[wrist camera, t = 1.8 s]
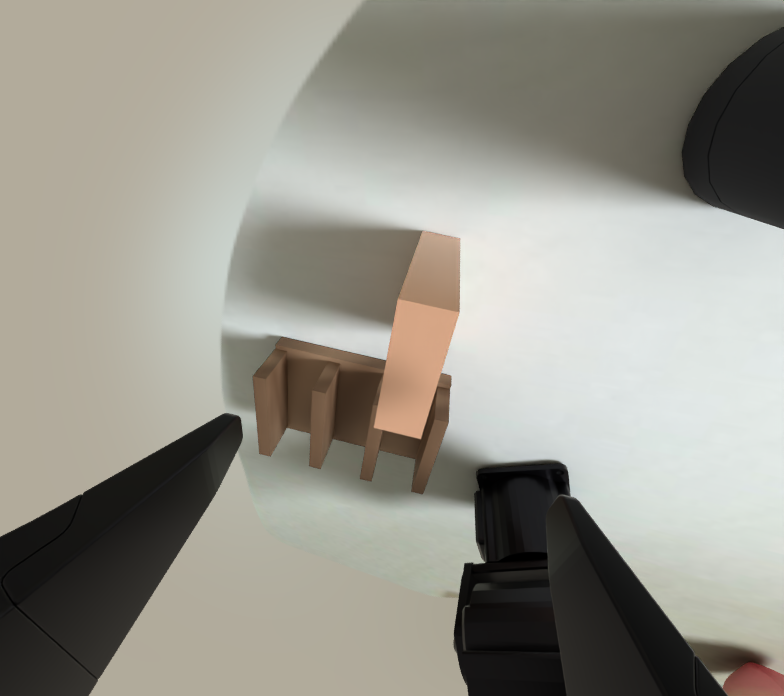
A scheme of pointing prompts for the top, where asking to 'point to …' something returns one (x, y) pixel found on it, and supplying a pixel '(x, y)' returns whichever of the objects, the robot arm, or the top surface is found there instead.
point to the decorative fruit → (754, 681)
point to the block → (420, 335)
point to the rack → (339, 406)
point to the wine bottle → (742, 136)
